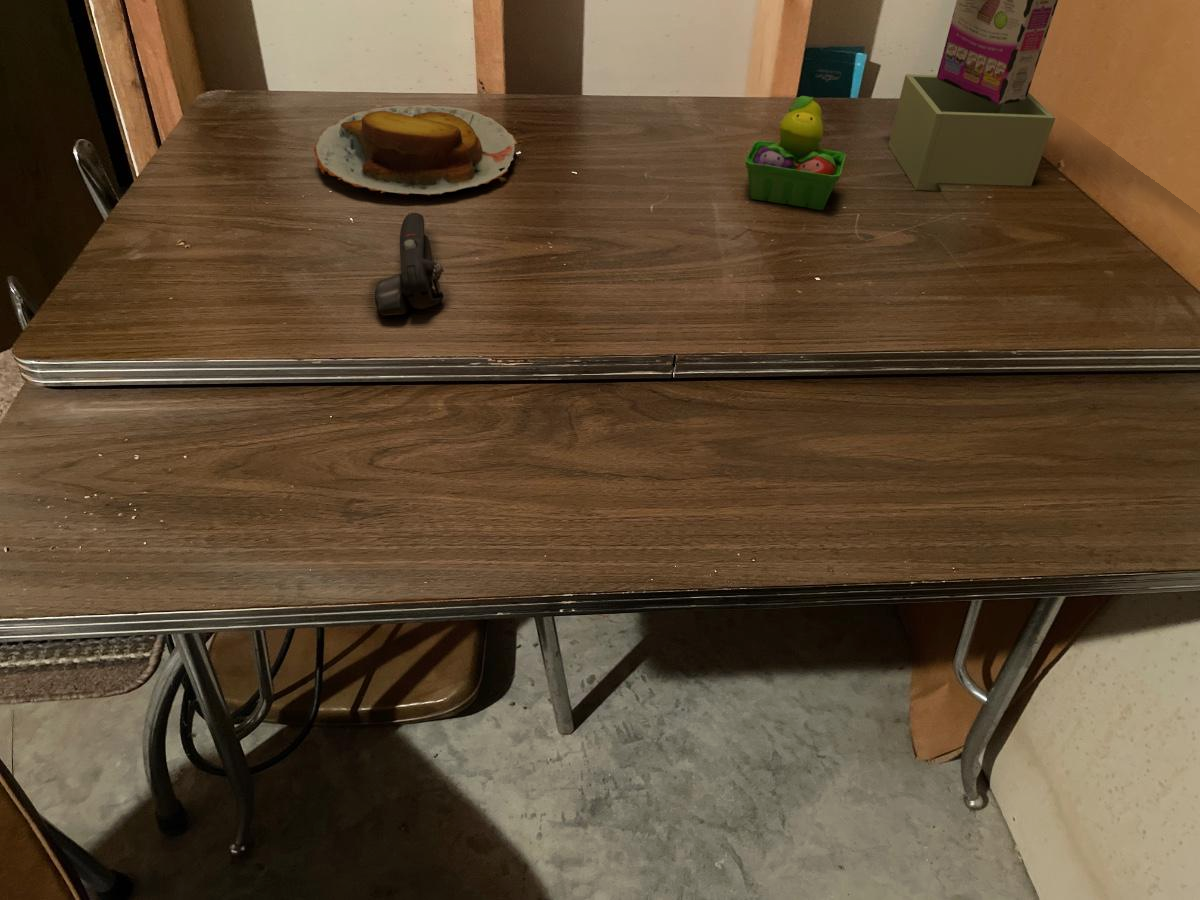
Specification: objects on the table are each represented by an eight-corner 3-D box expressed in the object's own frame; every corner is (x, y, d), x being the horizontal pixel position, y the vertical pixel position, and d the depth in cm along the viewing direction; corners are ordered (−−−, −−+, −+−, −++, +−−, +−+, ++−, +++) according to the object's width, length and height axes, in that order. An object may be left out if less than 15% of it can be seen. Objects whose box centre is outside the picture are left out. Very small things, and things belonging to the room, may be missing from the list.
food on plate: (513, 126, 128) (512, 78, 124) (523, 204, 110) (522, 150, 105) (328, 127, 125) (320, 78, 121) (305, 207, 107) (295, 152, 102)
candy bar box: (1028, 101, 113) (1076, -47, 103) (998, 107, 111) (1045, -43, 101) (962, 74, 121) (1001, -67, 110) (933, 78, 119) (970, -64, 108)
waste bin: (990, 149, 128) (1013, 78, 122) (1028, 194, 117) (1055, 117, 111) (887, 146, 128) (905, 74, 122) (915, 190, 117) (936, 113, 111)
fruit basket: (738, 201, 112) (751, 109, 105) (751, 174, 119) (764, 85, 112) (831, 217, 110) (851, 123, 103) (839, 188, 116) (859, 98, 109)
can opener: (446, 325, 88) (442, 273, 85) (373, 327, 88) (365, 274, 84) (451, 240, 102) (448, 192, 98) (388, 240, 101) (382, 192, 98)
